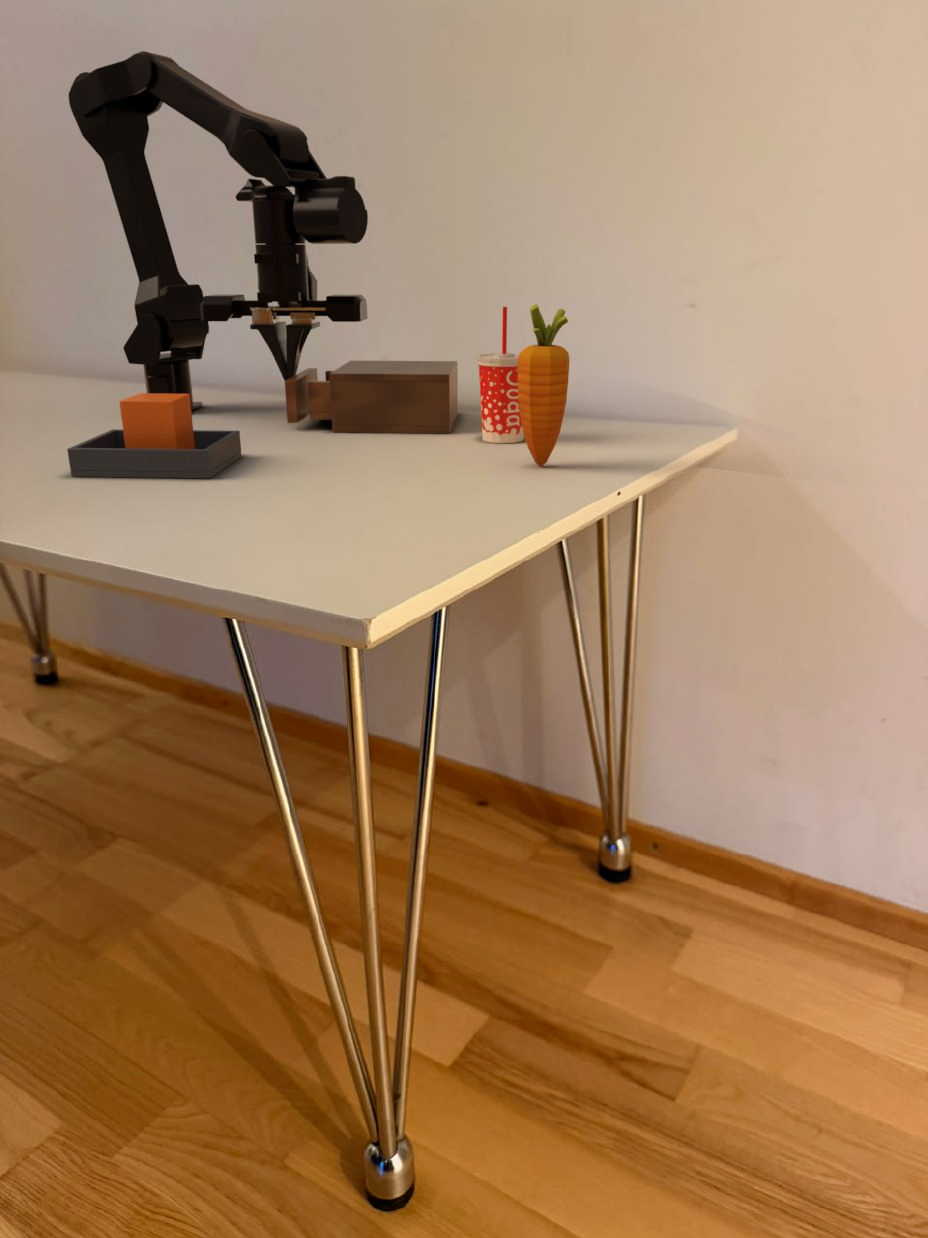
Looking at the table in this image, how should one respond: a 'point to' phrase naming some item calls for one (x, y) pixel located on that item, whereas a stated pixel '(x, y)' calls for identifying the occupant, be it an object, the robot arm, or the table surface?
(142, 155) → the robot arm
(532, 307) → the carrot
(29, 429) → the table surface
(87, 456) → the tray
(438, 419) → the cabinet
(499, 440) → the beverage cup
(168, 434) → the cube
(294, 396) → the drawer
